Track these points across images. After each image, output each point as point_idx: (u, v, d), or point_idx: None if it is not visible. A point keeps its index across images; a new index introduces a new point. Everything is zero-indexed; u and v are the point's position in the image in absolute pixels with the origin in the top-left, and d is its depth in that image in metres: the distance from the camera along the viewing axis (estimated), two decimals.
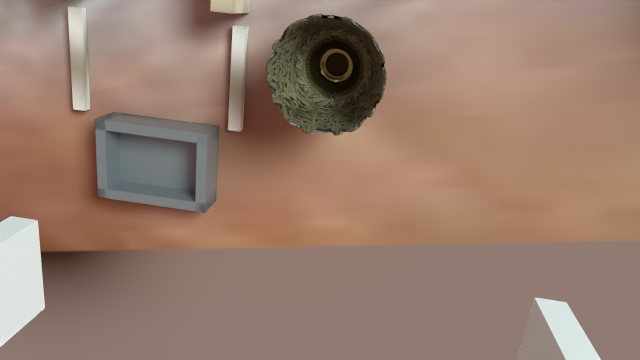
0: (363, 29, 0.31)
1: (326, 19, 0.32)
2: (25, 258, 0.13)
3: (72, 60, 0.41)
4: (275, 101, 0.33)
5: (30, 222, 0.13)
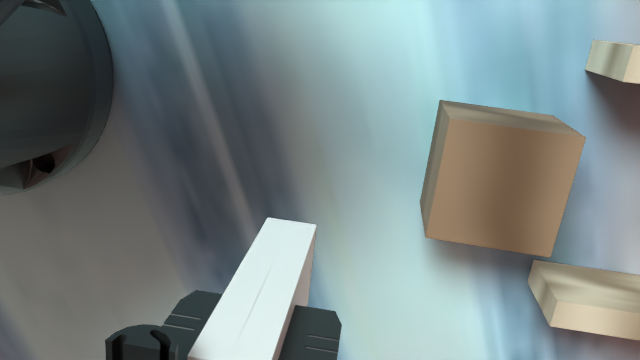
0: None
1: None
2: None
3: None
4: None
5: (288, 222, 0.15)
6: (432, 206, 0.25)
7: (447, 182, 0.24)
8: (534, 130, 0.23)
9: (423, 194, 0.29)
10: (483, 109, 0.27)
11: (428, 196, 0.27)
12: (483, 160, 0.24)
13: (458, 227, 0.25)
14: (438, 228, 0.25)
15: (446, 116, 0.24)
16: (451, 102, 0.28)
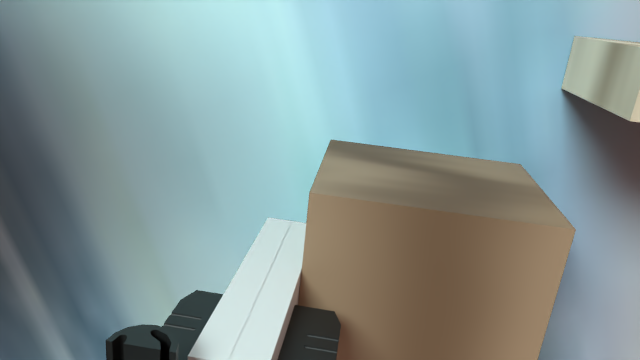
0: None
1: None
2: None
3: None
4: None
5: (288, 222, 0.15)
6: None
7: (317, 307, 0.13)
8: (474, 215, 0.12)
9: None
10: (398, 159, 0.15)
11: None
12: (380, 270, 0.12)
13: None
14: None
15: None
16: (348, 145, 0.16)
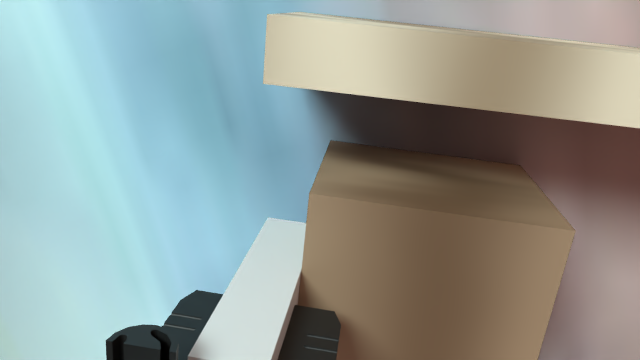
0: None
1: None
2: None
3: None
4: None
5: (289, 222, 0.15)
6: None
7: None
8: (473, 216, 0.12)
9: None
10: (398, 160, 0.15)
11: None
12: (380, 271, 0.12)
13: None
14: None
15: None
16: (348, 146, 0.16)
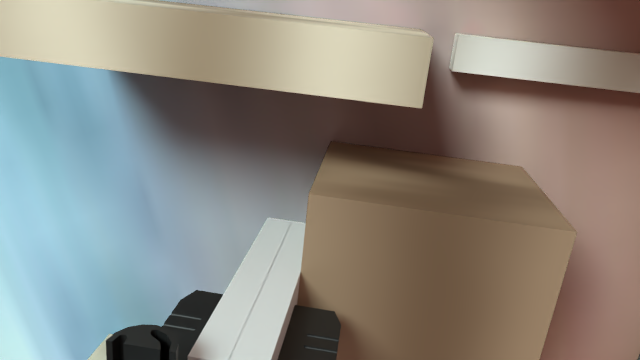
0: None
1: None
2: None
3: None
4: None
5: (288, 223, 0.15)
6: None
7: None
8: (474, 217, 0.12)
9: None
10: (398, 161, 0.15)
11: None
12: (380, 272, 0.12)
13: None
14: None
15: None
16: (348, 146, 0.16)
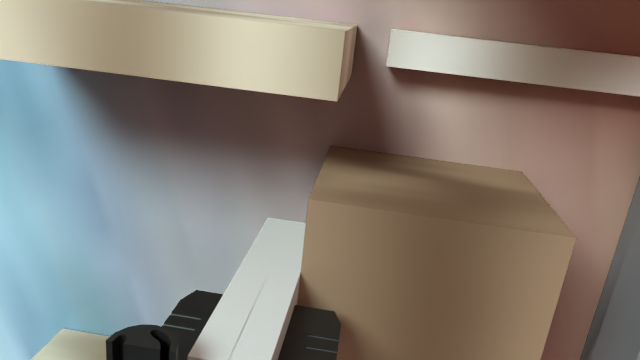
0: None
1: None
2: None
3: None
4: None
5: (289, 222, 0.15)
6: None
7: None
8: (473, 223, 0.12)
9: None
10: (398, 165, 0.15)
11: None
12: (379, 277, 0.12)
13: None
14: None
15: None
16: (348, 151, 0.16)
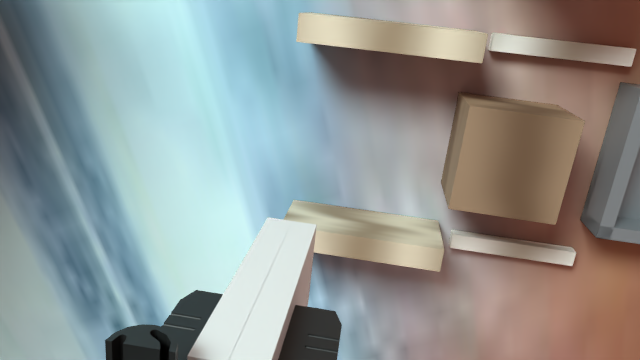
0: None
1: None
2: None
3: (511, 254, 0.34)
4: None
5: (288, 222, 0.15)
6: (454, 181, 0.29)
7: (467, 160, 0.29)
8: (541, 115, 0.27)
9: (444, 174, 0.33)
10: (497, 99, 0.31)
11: (450, 174, 0.31)
12: (498, 141, 0.28)
13: (476, 199, 0.29)
14: (460, 200, 0.29)
15: (466, 105, 0.29)
16: (469, 94, 0.32)
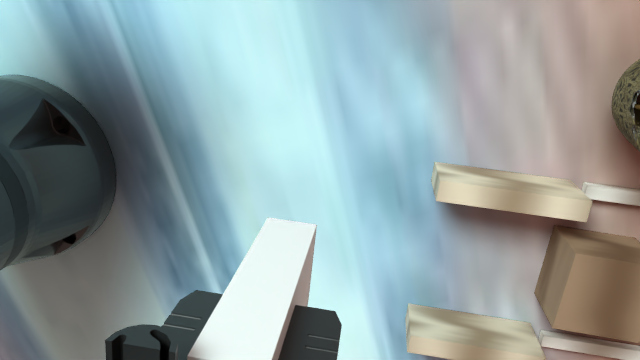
0: None
1: (630, 108, 0.30)
2: None
3: (592, 352, 0.42)
4: None
5: (288, 222, 0.15)
6: (558, 308, 0.36)
7: (570, 293, 0.36)
8: (633, 262, 0.35)
9: (540, 289, 0.40)
10: (588, 235, 0.38)
11: (550, 296, 0.38)
12: (597, 280, 0.35)
13: (575, 322, 0.36)
14: (562, 322, 0.37)
15: (569, 248, 0.36)
16: (563, 228, 0.39)
